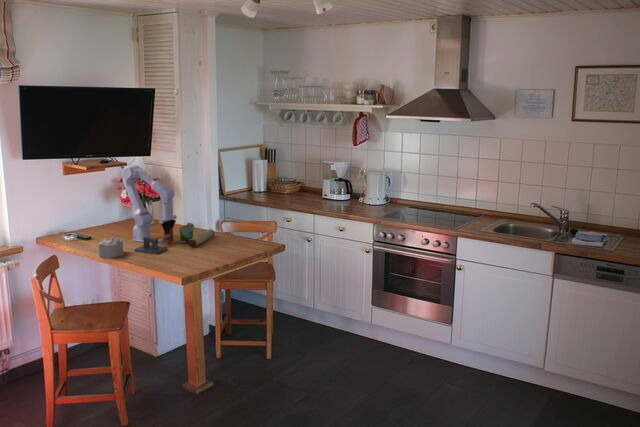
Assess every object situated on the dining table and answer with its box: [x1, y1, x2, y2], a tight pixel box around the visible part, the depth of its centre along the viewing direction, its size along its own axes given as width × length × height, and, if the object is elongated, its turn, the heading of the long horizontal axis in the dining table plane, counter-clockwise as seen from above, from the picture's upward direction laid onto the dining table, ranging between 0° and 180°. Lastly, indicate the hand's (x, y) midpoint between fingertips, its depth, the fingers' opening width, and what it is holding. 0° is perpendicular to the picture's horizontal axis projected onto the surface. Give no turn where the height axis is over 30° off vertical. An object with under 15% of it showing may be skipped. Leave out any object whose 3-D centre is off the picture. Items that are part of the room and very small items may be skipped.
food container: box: [178, 222, 195, 245], centre depth 348 cm, size 12×6×10 cm, turn 168°
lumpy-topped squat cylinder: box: [98, 236, 124, 259], centre depth 320 cm, size 10×13×9 cm
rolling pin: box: [187, 228, 215, 249], centre depth 349 cm, size 32×6×5 cm, turn 165°
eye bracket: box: [134, 237, 168, 255], centre depth 329 cm, size 10×14×7 cm
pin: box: [158, 227, 174, 244], centre depth 339 cm, size 14×4×8 cm, turn 160°
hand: (168, 233), depth 344 cm, fingers closed on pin, 3 cm apart
